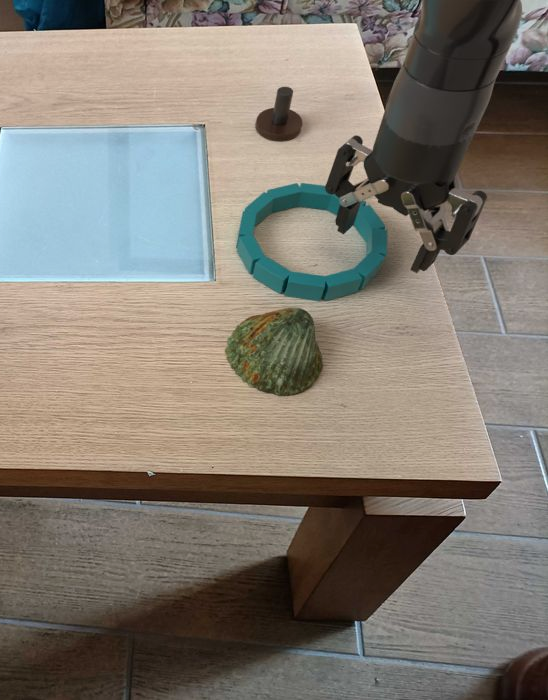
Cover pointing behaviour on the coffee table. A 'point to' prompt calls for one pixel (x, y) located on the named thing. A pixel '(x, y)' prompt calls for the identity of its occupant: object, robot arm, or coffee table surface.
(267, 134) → the peg stand
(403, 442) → the coffee table surface
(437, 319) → the coffee table surface
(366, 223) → the ring
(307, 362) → the seashell
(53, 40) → the coffee table surface
